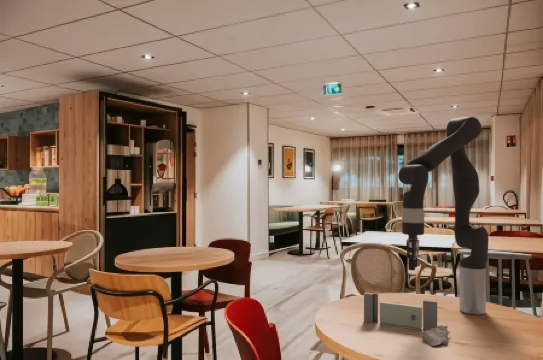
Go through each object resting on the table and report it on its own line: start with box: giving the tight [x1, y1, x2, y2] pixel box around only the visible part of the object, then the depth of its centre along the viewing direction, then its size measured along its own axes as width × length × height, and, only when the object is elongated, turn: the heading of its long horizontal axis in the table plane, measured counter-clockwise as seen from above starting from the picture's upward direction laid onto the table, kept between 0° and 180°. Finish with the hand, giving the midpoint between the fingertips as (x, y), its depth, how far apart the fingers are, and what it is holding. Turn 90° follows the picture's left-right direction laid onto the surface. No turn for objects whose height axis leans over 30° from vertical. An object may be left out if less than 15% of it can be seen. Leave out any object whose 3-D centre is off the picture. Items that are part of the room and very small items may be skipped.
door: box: [379, 301, 423, 329], centre depth 146 cm, size 2×14×7 cm, turn 64°
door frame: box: [363, 292, 438, 332], centre depth 147 cm, size 3×24×10 cm, turn 64°
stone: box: [421, 324, 451, 347], centre depth 133 cm, size 6×12×4 cm, turn 119°
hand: (412, 268), depth 150 cm, fingers open, 5 cm apart
